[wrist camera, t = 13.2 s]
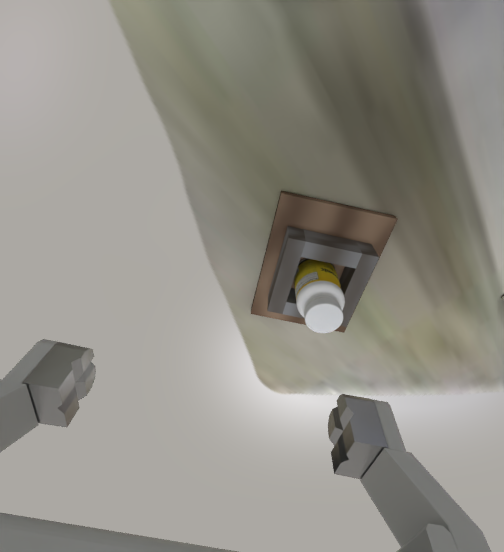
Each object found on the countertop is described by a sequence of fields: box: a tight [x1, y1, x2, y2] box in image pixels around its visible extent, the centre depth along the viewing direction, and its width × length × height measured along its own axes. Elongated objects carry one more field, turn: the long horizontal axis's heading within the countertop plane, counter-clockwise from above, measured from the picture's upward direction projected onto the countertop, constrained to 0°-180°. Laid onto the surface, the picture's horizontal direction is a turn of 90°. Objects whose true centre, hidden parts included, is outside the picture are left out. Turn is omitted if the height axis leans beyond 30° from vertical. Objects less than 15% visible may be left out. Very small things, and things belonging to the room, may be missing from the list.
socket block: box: [251, 191, 398, 332], centre depth 40 cm, size 14×18×4 cm
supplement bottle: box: [294, 258, 345, 333], centre depth 37 cm, size 5×5×10 cm
